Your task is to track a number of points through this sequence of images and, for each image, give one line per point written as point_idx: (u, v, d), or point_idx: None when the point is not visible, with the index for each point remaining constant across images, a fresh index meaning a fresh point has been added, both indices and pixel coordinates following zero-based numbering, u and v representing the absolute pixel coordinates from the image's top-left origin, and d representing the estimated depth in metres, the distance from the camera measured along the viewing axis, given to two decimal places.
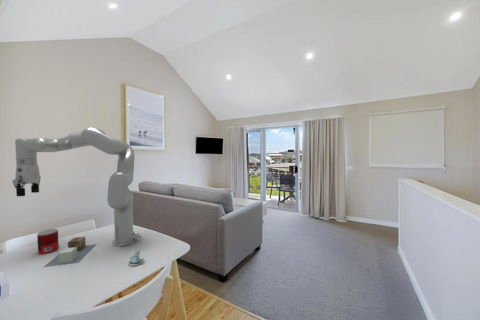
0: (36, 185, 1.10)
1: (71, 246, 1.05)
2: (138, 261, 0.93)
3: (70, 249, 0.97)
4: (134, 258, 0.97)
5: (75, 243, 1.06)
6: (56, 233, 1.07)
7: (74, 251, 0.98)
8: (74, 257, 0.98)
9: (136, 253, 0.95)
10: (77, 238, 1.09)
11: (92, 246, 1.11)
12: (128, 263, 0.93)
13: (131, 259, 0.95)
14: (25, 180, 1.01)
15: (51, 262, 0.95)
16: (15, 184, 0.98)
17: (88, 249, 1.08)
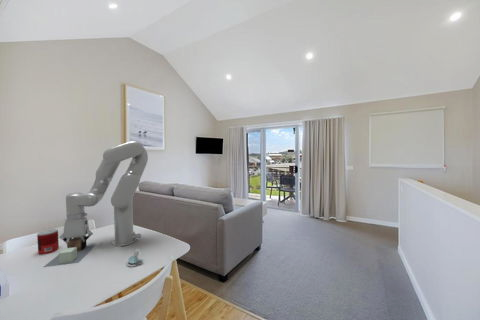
0: None
1: (71, 246, 1.05)
2: (137, 262, 0.92)
3: (70, 249, 0.97)
4: (133, 259, 0.96)
5: (75, 243, 1.06)
6: (56, 233, 1.07)
7: (74, 251, 0.98)
8: (74, 257, 0.98)
9: (135, 254, 0.95)
10: (77, 238, 1.09)
11: (92, 246, 1.11)
12: (127, 264, 0.93)
13: (130, 260, 0.95)
14: (88, 230, 1.11)
15: (51, 262, 0.95)
16: (89, 236, 1.10)
17: (88, 249, 1.08)
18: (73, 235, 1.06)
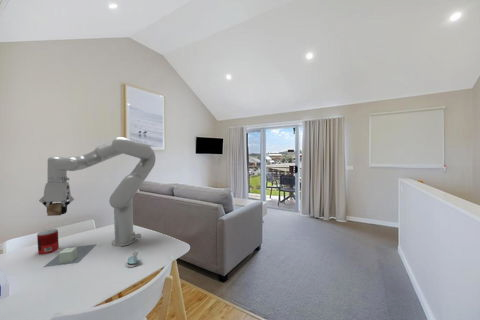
0: None
1: (51, 210, 1.03)
2: (136, 262, 0.92)
3: (70, 249, 0.97)
4: (132, 259, 0.96)
5: (55, 207, 1.04)
6: (56, 233, 1.07)
7: (74, 251, 0.98)
8: (74, 257, 0.98)
9: (134, 254, 0.94)
10: (58, 203, 1.07)
11: (92, 246, 1.11)
12: (126, 264, 0.92)
13: (129, 260, 0.95)
14: None
15: (51, 262, 0.95)
16: (70, 202, 1.08)
17: (88, 249, 1.08)
18: (53, 199, 1.04)
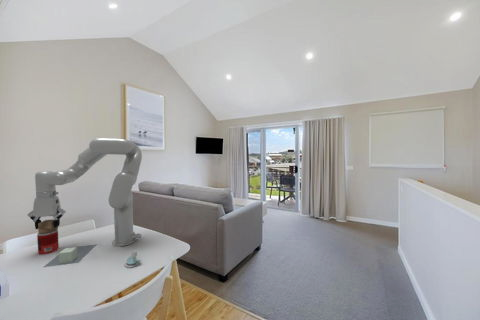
0: (39, 220, 1.06)
1: (41, 228, 1.03)
2: (135, 262, 0.91)
3: (70, 249, 0.97)
4: (131, 259, 0.95)
5: (46, 225, 1.04)
6: (56, 233, 1.07)
7: (74, 251, 0.98)
8: (74, 257, 0.98)
9: (133, 254, 0.94)
10: (49, 220, 1.07)
11: (92, 246, 1.11)
12: (125, 264, 0.92)
13: (128, 260, 0.94)
14: None
15: (51, 262, 0.95)
16: (62, 214, 1.08)
17: (88, 249, 1.08)
18: (43, 214, 1.04)
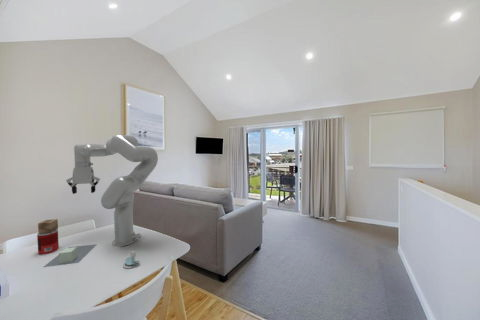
0: (75, 186, 1.22)
1: (41, 228, 1.03)
2: (133, 263, 0.91)
3: (70, 249, 0.97)
4: (129, 260, 0.95)
5: (46, 225, 1.04)
6: (56, 233, 1.07)
7: (74, 251, 0.98)
8: (74, 257, 0.98)
9: (131, 255, 0.93)
10: (49, 220, 1.07)
11: (92, 246, 1.11)
12: (123, 265, 0.91)
13: (126, 261, 0.94)
14: (94, 179, 1.25)
15: (51, 262, 0.95)
16: (98, 181, 1.24)
17: (88, 249, 1.08)
18: (80, 181, 1.20)
